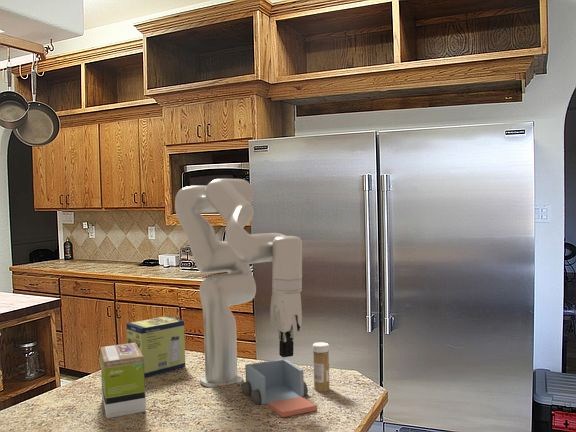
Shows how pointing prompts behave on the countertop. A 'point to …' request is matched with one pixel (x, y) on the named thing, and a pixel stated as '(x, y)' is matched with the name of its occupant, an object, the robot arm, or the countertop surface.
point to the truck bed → (273, 381)
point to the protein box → (159, 343)
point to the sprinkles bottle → (321, 366)
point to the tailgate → (292, 406)
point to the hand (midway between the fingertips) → (286, 355)
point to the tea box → (122, 380)
